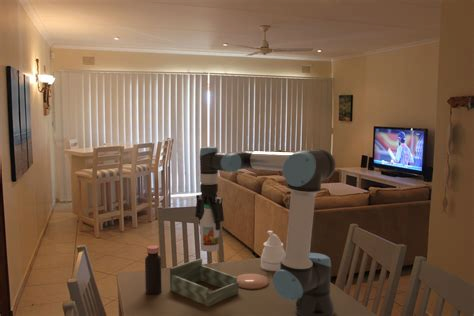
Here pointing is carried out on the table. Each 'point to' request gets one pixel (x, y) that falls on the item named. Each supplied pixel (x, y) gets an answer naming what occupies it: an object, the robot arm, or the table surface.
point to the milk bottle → (208, 231)
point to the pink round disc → (252, 281)
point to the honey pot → (272, 253)
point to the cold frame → (195, 271)
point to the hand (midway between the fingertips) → (209, 235)
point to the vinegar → (153, 270)
